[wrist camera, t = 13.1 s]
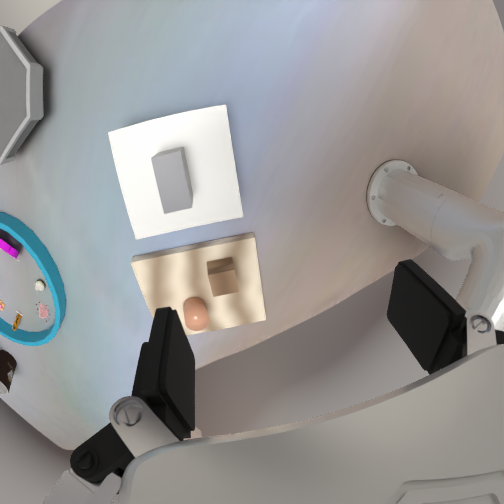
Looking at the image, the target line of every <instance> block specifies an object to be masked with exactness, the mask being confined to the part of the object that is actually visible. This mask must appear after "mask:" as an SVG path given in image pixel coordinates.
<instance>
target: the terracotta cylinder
mask: <svg viewBox="0 0 504 504" xmlns="http://www.w3.org/2000/svg"><path fill="white" fill-rule="evenodd" d="M183 313H184V319H185V325H186V327H187V328H188V329H190V330H193V331H200V330H203V329H205V328H206V327H207V326H208V325H209V322H210V319H209V316H208V312H207V308H206V304H205V302H204V301H203V300H202V299H200V298H197V297H193V298H190V299H188V300H186V301H185V302H184V304H183Z"/></svg>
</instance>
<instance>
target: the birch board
mask: <svg viewBox="0 0 504 504" xmlns="http://www.w3.org/2000/svg"><path fill="white" fill-rule="evenodd" d="M228 257H232V260H233V264H234V268H235V273H236V278H237V284H238V289H239V292H236V293H231V294H226V295H221V296H216V297H213V294H212V290H211V286H210V282H209V278H208V273H207V262H208V261H213V260H218V259H223V258H228ZM131 265H132V267H133V270H134V273H135V275H136V278H137V281H138V283H139V286H140V288H141V291H142V293H143V296H144V298H145V301H146V303H147V305H148V308H149V310H150V312H151V315H152V317H153V319H154V315H155V311H156V309H157V308H163V307H169V306H170V307H171V308H172V310H174V309H176V310H177V313H178V315H179V318H180V321H181V323H182V326H183V329H184V331H185V334H186V335H192V334H197V333H203V332H208V331H214V330H219V329H224V328H230V327H235V326H239V325H244V324H249V323H254V322H258V321H263V320H266V316H265V309H264V301H263V294H262V287H261V279H260V272H259V265H258V257H257V250H256V243H255V237H254V235H253V233H247V234H242V235H237V236H232V237H227V238H222V239H217V240H212V241H207V242H202V243H197V244H192V245H187V246H182V247H177V248H172V249H167V250H163V251H158V252H153V253H148V254H144V255H139V256H134V257H133V258H132V261H131ZM193 297H197V298H200V299H202V300H203V301H204V302H205V304H206V308H207V312H208V316H209V319H210V322H209V325H208V326H207V327H206V328H205V329H203V330H200V331H193V330H190V329H188V328H187V327H186V325H185V319H184V313H183V304H184V302H185V301H186V300H188V299H190V298H193Z"/></svg>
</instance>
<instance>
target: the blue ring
mask: <svg viewBox="0 0 504 504" xmlns="http://www.w3.org/2000/svg"><path fill="white" fill-rule="evenodd" d="M0 228H1V229H3V230H5V231H7V232H8V233H9V234H11V235H12V236H13V237H14V238H15V239H16V240H18V241H19V242H20V243H21V244H22V245H23V246H24V248H25V249H26V250H27V251H28V252H29V254H30V255H31V256H32V257H33V258H34V260H35V261H36V263H37V265H38V266H39V268H40V270H41V271H42V273H43V275H44V276H45V278H46V281H47V283H48V286H49V288H50V291H51V293H52V296H53V301H54V306H55V324H54V325H53V326H52V327H50V328H49V329H47V330H44V331H41V332H27V331H24V330H21V329H17V327H18V324H19V321H20V319H21V316H22V314H21V313H19V314H17V317H16V320H15V322H14V325H13V326H12V325H10V324H8V323H6V322H5V321H4V320H3V319H1V318H0V334H1V335H3V336H4V337H6V338H8V339H10V340H12V341H13V342H17V343H20V344H23V345H28V346H39V345H42V344H45V343H48V342H49V341H50V340H51V339H52V338H53V337H55V335H56V333H57V331H58V329H59V326H60V324H61V322H62V320H63V318H64V316H65V308H66V297H65V291H64V285H63V282H62V279H61V277H60V274H59V271H58V268H57V266H56V264H55V262H54V261H53V259H52V257H51V255H50V254H49V252H48V250H47V248H46V247H45V246H44V245H43V243H42V242H41V241H40V240H39V238H38V237H37V236H36V235H35V233H34V232H33V231H32V230H31V229H29V228H28V227H27V226H26V225H25V224H23V223H22V222H21V221H20V220H19V219H17V218H15V217H13V216H10V215H8V214H6V213H4V212H0ZM0 249H1V250H3V251H4V252H6V253H7V254H9V255H10V256H12V257H13V258H15V259H17V256H18V254H19V252H18V251H17V250H15V249H14V248H13V247H11V246H10V245H8V244H7V243H6V242H4V241H3V240H1V239H0ZM18 261H19V260H18ZM35 289H37V290H39V291H43V290H44V289H45V285H44V283H43V282H42V281H40V280H39V281H37V282H36V283H35ZM37 290H36V291H37ZM37 292H38V291H37ZM37 294H38V293H37ZM1 301H2V300H0V302H1ZM39 303H41V302H39ZM35 305H37V304H35ZM40 305H41V304H40ZM4 306H5V304H4V303H0V309H1V310H4V309H3V308H2V307H4ZM46 306H47V305H46ZM41 307H42V309H44V308H45V306H44V305H43V304H42V305H41V306H40V307H39V314H40V315H39V318H40V317H43V318H42V319H44V318H45V317H48V312H47V311H49V310H47V309H46V308H45V309H44V310H42V309H41ZM43 307H44V308H43ZM37 310H38V309H37ZM44 311H45V312H44ZM37 314H38V312H37ZM49 316H50V314H49ZM48 320H50V319H48ZM46 322H47V321H46Z"/></svg>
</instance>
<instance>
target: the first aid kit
mask: <svg viewBox="0 0 504 504" xmlns="http://www.w3.org/2000/svg"><path fill="white" fill-rule="evenodd" d="M43 116H44V114H43V67H42V66H41V65H40V64H38V63H37V62H36V61H35V59H34V58H33V57H32V56H31V54H30V53H29V52H28V50H27V49H26V48H25V46H24V45H23V44H22V42H21V41H20V40H19V38H18V37H17V35H16V32H15V30H13V29H11V28H8V27H4V26H0V165H2V164H4V163H7V162H10V161H13V160H14V158H15V154H16V153H17V151H18V149H19V148H20V146H21V145H22V143H23V142H24V140H25V139H26V137H27V136H28V134H29V133H30V132H31V130H32V129H33V127H34V126H35V125H36V123H37V122H38V121H39V120H41V119H42V117H43Z"/></svg>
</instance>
